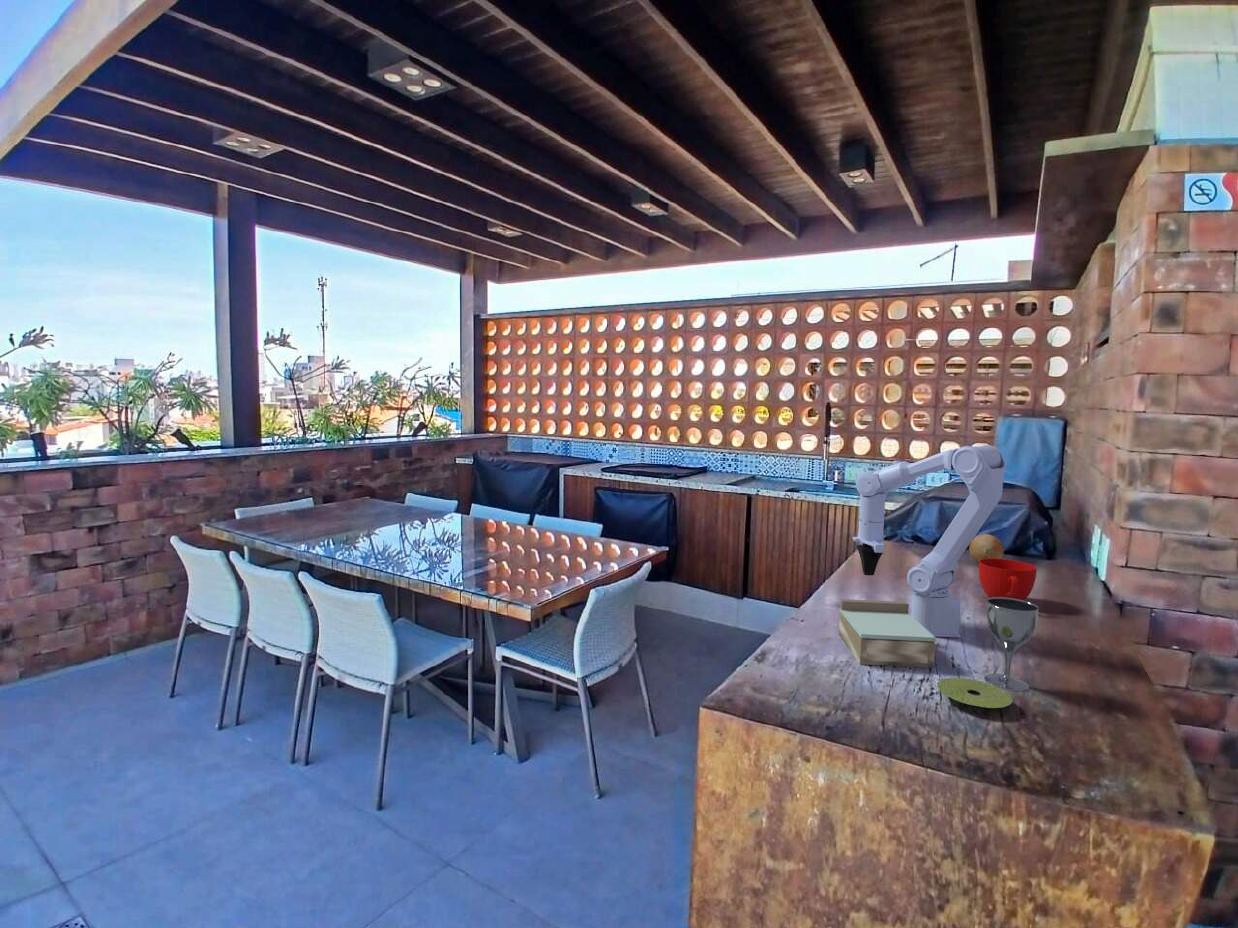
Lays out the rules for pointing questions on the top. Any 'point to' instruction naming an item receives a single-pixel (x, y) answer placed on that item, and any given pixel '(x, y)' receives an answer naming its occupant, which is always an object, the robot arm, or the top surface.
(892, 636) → the lid
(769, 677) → the top surface
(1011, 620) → the wine glass
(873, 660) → the box
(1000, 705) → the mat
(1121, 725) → the top surface
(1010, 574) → the ceramic cup
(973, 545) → the onion
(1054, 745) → the top surface
